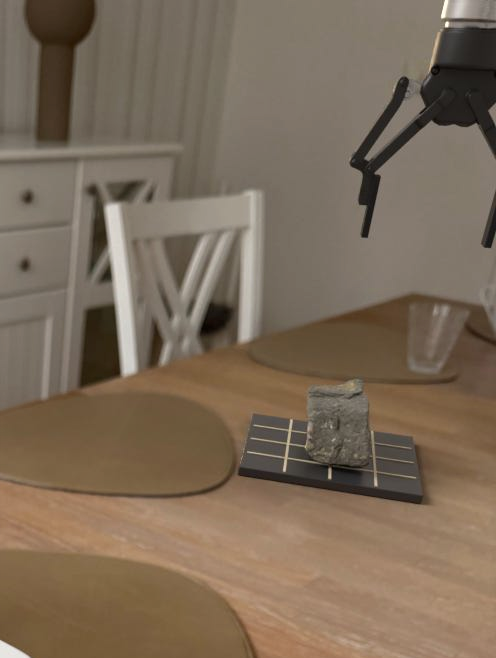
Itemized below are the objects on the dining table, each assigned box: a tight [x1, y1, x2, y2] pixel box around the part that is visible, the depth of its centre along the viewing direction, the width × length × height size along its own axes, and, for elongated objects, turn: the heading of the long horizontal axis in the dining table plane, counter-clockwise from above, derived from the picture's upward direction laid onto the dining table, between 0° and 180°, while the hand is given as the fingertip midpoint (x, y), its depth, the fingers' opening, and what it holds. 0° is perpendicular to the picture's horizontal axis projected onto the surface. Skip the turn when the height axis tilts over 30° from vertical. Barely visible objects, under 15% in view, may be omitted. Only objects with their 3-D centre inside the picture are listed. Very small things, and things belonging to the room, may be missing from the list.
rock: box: [306, 378, 371, 467], centre depth 115 cm, size 17×7×10 cm
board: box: [237, 412, 424, 505], centre depth 117 cm, size 20×20×1 cm
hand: (424, 241), depth 114 cm, fingers open, 13 cm apart
